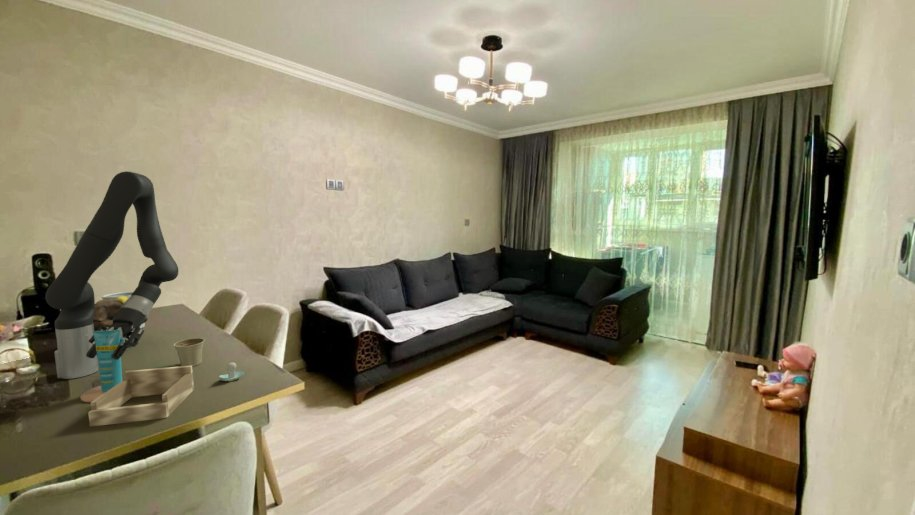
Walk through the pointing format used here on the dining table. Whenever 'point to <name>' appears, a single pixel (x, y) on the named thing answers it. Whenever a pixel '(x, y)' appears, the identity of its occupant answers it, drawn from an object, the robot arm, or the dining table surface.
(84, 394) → the saucer
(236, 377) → the pacifier
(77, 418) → the dining table surface
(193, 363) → the flower pot
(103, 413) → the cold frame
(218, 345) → the dining table surface
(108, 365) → the tube
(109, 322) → the brown and grey lump
